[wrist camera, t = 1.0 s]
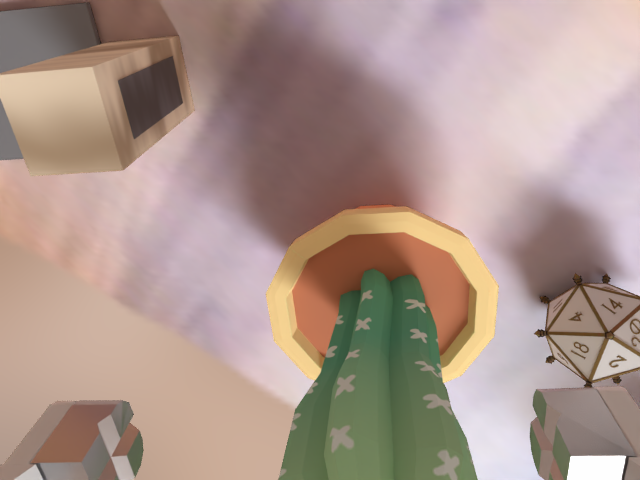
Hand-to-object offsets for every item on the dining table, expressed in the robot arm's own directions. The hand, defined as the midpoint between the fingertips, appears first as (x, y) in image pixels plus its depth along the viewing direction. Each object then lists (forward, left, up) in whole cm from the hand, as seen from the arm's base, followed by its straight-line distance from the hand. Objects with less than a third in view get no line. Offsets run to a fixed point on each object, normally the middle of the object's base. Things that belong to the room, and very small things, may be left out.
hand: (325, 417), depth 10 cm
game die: (+17, +17, -28) cm, 37 cm away
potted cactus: (+12, +1, -28) cm, 31 cm away
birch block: (-3, -14, -28) cm, 31 cm away
